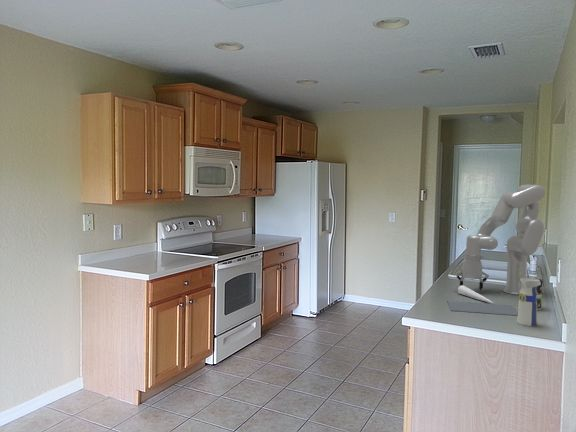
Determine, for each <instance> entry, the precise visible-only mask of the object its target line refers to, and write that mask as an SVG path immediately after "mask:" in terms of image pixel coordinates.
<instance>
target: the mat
mask: <svg viewBox="0 0 576 432" xmlns="http://www.w3.org/2000/svg"><path fill="white" fill-rule="evenodd" d="M447 303H448V306H449V309H450V311H451V312H460V313H461V312H462V313H474V314H488V315H500V316H501V315H502V316H515V317H518V310H516V308H514V307H513V305H511V304H500V303H499V304H497V303H488V302H486V303H485V302H484V303H483V302H470V301H457V300H456V301H455V300H454V301H453V300H447Z"/></svg>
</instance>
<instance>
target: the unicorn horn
mask: <svg viewBox="0 0 576 432" xmlns="http://www.w3.org/2000/svg"><path fill="white" fill-rule="evenodd" d="M457 292H458V293H459V294H460V295H463V296H465V297H469V298H471V299H475V300H478V301H481V302H484V303H485V302H486V303H487V304H494V302H493V301H492V300H491V299H488V298H487V297H485V296H483V295H481V294H480V293H478V292H476V291H474V290H472V289H471V288H469V287H467V286H465V285H464V284H463V285H461V286H460V285H459V286H458V288H457ZM459 294H458V295H459Z"/></svg>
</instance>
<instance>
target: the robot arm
mask: <svg viewBox="0 0 576 432" xmlns="http://www.w3.org/2000/svg"><path fill="white" fill-rule="evenodd" d="M545 194H546V189H545V188H544V187H543V186H542V185H541V184H540V185H539V184H522V185H519V187H518V188H517V192H514V191H508V192H504V193H502V195H501V196H500V198H499V200H498V202H497V203H496V206H495V208H494V209H493V212H492V213H491V215H490V217H488V218H487V220H485V221H484V222H483V223H482V225H481V226H480V227H479V229H478V231H477V233H476V235H472V234H471V235H467V237H466V243H465V245H466V248H465V258H464V259H463V262H462V268H461V269H460V270H458V271H456V272H454V274H455V276H456V278H457V279H458V280H459V286H461V285H463V286H464V280H465V279H469V280H471V279H472V280H479V285H478V289H479V290H480V291H482V290H483V289H484V287H483V286H484V283H485V282H486V281H488V280H487V279H488V278H489V276H490V275H489V274H487V273H486V272H484V271H483V262H482V260H483V259H484V256H482V255H481V254H482V253H481V252H482V250H487V251H492V250H495V249H496V248H497V247H498V246H499V243H498V242H499V241H498V239H497V238H496V237H494V236H492V233H493V232H494V231H495V230H496V229H497V228H499V227H501V226H503V225H506V224H507V223H508V222H509V219H510V218H511V215H512V213H513V211H514V209H521V210H520V214H519V216H518V218H517V222H516V224H515V230H516V232H517V233H519V234H520V235H512V236H510V237H509V238H508V239H507V241H506V252H507V266H506V285H505V287H504V288H503V289H502V291H503V292H504V293H506V294H510V295H518V296H519V278H521V277H527V267H528V266H527V264H528V260H527V256H532V255H533V254H534V255H535V253H536V252H537V250H538V247H539V245H540V243H541V240H542V238H543V236H544V232H545V225H544V222H543V221H542V220H541V219H539V218H538V217H539V214H540V210H541V209H540V208H541V207H540V203H539V201H541V200H542V199H543V198H544V197H545ZM521 234H522V235H523V236H522V235H521ZM520 266H521V269H522V271H521V273H520V272H519V269H518V268H520ZM518 272H519V273H518ZM460 274H461V276H460ZM483 276H484V277H483Z"/></svg>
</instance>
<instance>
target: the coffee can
mask: <svg viewBox="0 0 576 432" xmlns="http://www.w3.org/2000/svg"><path fill="white" fill-rule="evenodd" d="M521 278H532V277H529V276H528V277H527V276H526V277H521ZM534 278H535V279H538V280H539V281H540V283H541V285H539V286H537V287H536V292H537V293H538V294H537V295H536V302H537V311H541V310H542V304H543V302H542V301H543V298H542V297H543V285H544V284H543V282H544V280H543V279H541V278H537V277H534ZM519 282H520V278H519ZM520 290H521V282H520V285H519V295H520ZM519 295H518V296H519ZM517 300H518V302H517V303H518V305H519V300H520V299H519V298H518V299H517ZM518 305H517V306H518Z"/></svg>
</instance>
